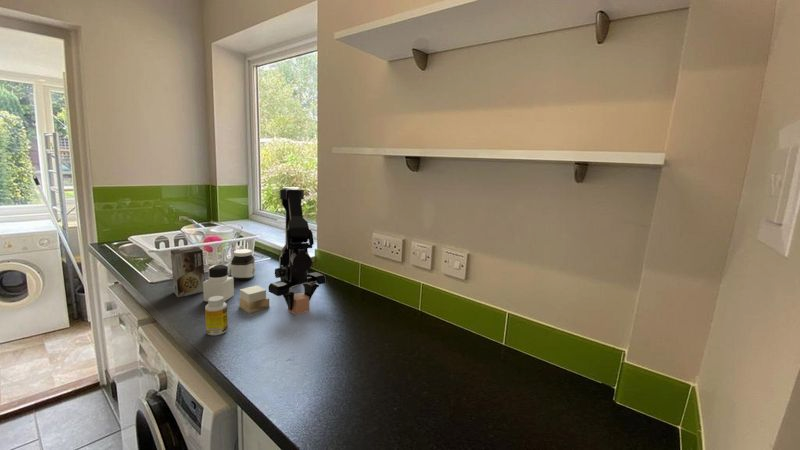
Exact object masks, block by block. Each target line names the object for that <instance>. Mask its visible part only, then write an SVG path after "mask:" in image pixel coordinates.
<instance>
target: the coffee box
mask: <svg viewBox="0 0 800 450" xmlns="http://www.w3.org/2000/svg"><path fill="white" fill-rule="evenodd" d="M170 258H171V271H172V286H173V294H174V295H176V297H177V298H182V297H186V296H191V295H196V294H200V293H203V282H204V281H206V280H205V264H204V251H203V249H201V247H199V246H195V247H194V246H193V247H191V246H190V247H184V248H177V249H170Z"/></svg>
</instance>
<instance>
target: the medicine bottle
mask: <svg viewBox="0 0 800 450" xmlns="http://www.w3.org/2000/svg"><path fill="white" fill-rule="evenodd" d="M207 269H208V271H207V273H208V279H206V280H205V281H204V282H203V292H202V293H203V301H204V302H208V299H209V298H210V297H213V296H223V297H224V302H225V303H226V301H227V300H229V299H230V298H232V297H234V296H235V287H234V286H235V285H234V284H235V283H234V282H235V279H233V277H232V276H229V273H228V265H225V264H214V265H211V266H209V267H208V268H207Z"/></svg>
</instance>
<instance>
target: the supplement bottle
mask: <svg viewBox="0 0 800 450" xmlns="http://www.w3.org/2000/svg"><path fill="white" fill-rule="evenodd" d="M204 311H205V312H204V313H205V316H204V317H205V332H206V334H207V335H209V336H219V335H220V336H221V335H223V334H225V333H226V332H227V331H228V328H229V326H228V323H229V322H228V304H227V303H226V301H225V302H224V297H223V296H213V297H210V298H209V299H208V301H207V304H206V305H205V307H204Z"/></svg>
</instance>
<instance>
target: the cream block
mask: <svg viewBox="0 0 800 450" xmlns="http://www.w3.org/2000/svg"><path fill="white" fill-rule="evenodd" d="M239 296H240V297H239V298H241V299H243V300H244V301H246V302H248V303H251V302H255V301H259V300H262V299H266V297H267V290H266V289H264V288H263V287H261V286H259V285H254V286H249V287H244V288H242V289H241V288H240V289H239Z"/></svg>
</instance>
